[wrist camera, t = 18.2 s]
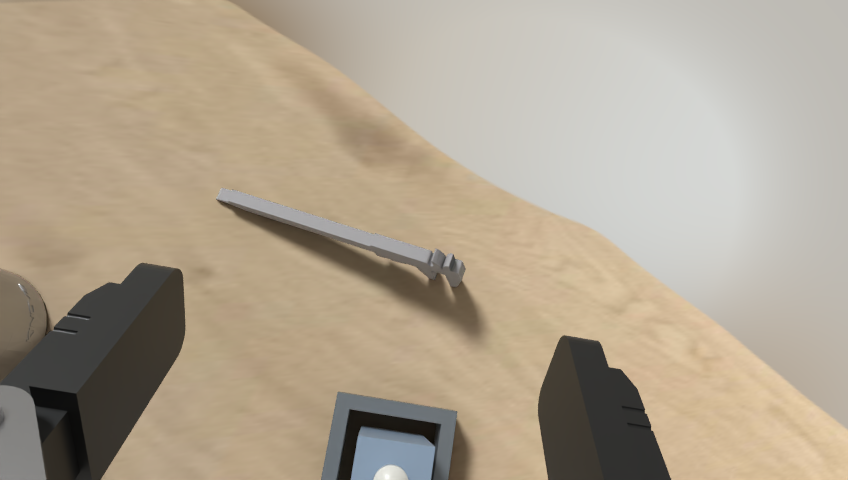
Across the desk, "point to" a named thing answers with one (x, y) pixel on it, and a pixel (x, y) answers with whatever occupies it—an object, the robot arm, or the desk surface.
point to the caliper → (352, 236)
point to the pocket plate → (391, 408)
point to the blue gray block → (392, 455)
